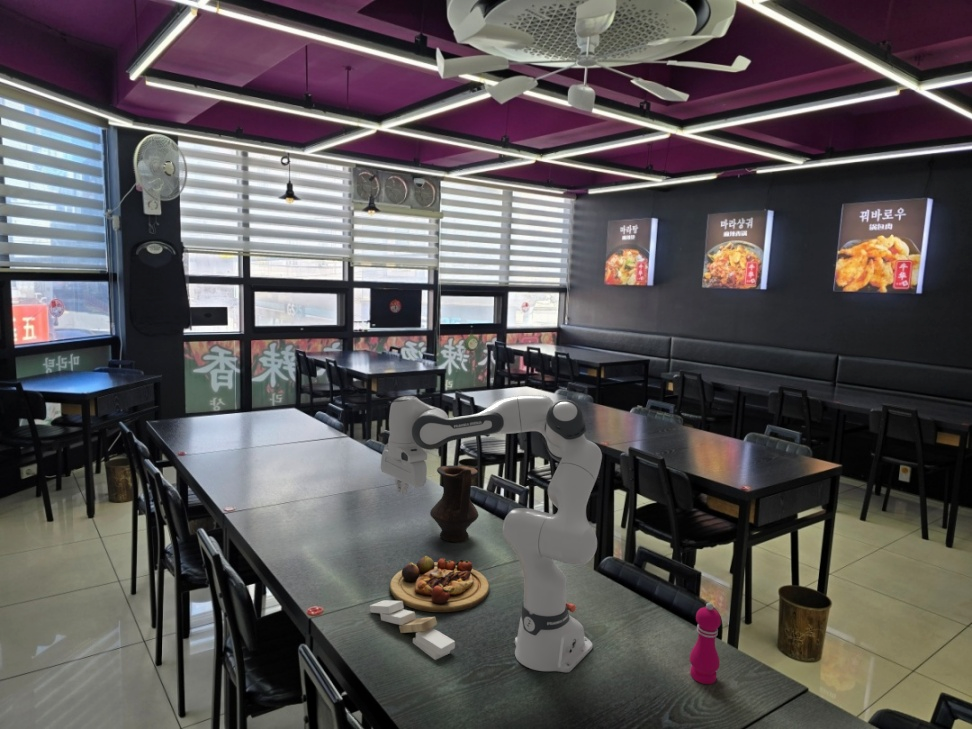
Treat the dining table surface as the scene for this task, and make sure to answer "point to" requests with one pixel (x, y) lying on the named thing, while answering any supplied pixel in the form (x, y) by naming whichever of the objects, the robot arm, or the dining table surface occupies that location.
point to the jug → (455, 503)
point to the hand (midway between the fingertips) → (401, 493)
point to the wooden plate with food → (439, 585)
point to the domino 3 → (418, 625)
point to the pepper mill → (705, 646)
